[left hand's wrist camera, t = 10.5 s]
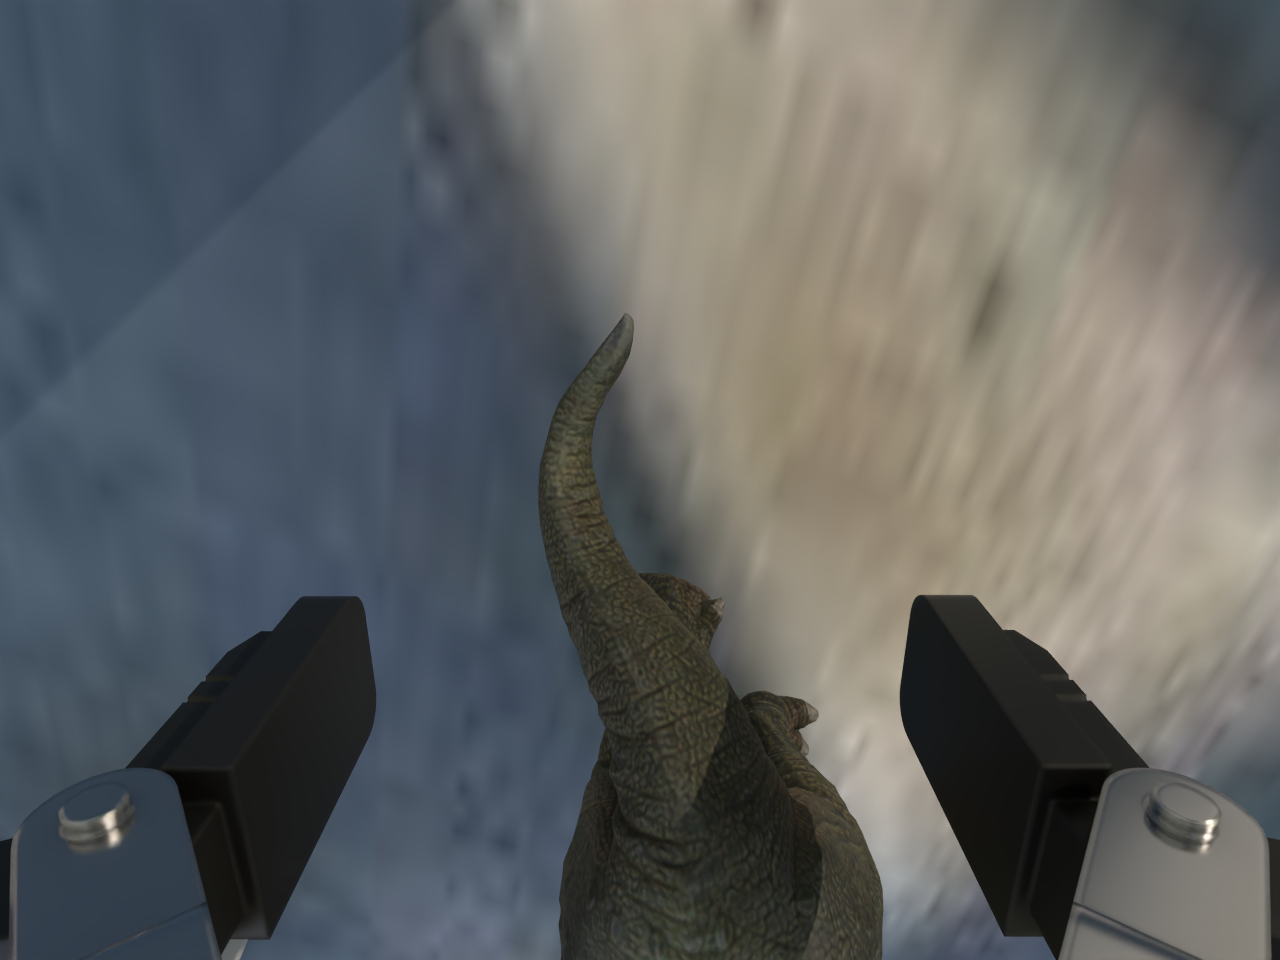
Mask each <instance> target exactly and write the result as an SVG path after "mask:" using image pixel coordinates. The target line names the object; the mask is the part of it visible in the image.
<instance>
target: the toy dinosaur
mask: <svg viewBox="0 0 1280 960" xmlns="http://www.w3.org/2000/svg"><path fill="white" fill-rule="evenodd" d="M633 330H634V325H633V319H632V318H631V316H630V315H629V314H627V313H625V314H624V316H623V317H622V319H621V320H620V322H619V323H618V324H617V326H616V327H615V328H614V330H613V331H612V332H611V333H610V335H609V336H608V337H607V338H606V340H605V341H604V342H603V343H602V345H601V346H600V347H599V349H598V350H597V351H596V353H595V354H594V355H593V357H592V358H591V359H590V361H589V362H588V364H587V365H586V367H585V368H584V369H583V370H582V371H581V373H580V374H579V375H578V376H577V377H576V379H575V380H574V381H573V383H572V384H571V386H570V387H569V388H568V390H567V391H566V392H565V394H564V395H563V397H562V398H561V400H560V402H559V404H558V406H557V409H556V411H555V413H554V416H553V418H552V422H551V425H550V429H549V433H548V437H547V440H546V444H545V448H544V452H543V456H542V460H541V463H540V475H539V515H540V525H541V531H542V537H543V542H544V547H545V552H546V557H547V561H548V564H549V567H550V570H551V575H552V581H553V584H554V586H555V589H556V593H557V596H558V600H559V603H560V608H561V612H562V617H563V619H564V621H565V623H566V625H567V627H568V631H569V635H570V637H571V639H572V641H573V642H574V644H575V646H576V648H577V650H578V653H579V657H580V661H581V666H582V669H583V672H584V674H585V676H586V679H587V681H588V684H589V689H590V692H591V694H592V695H593V697H594V698H595V700H596V701H597V703H598V712H599V716H600V718H601V720H602V722H603V723H604V725H605V727H606V729H605V731H604V735H603V738H602V742H601V745H600V750H599V756H598V761H597V763H596V764H595V766H594V768H593V770H592V775H591V779H590V781H589V783H588V784H587V786H586V789H585V792H584V796H583V803H582V808H581V812H580V815H579V819H578V823H577V826H576V830H575V833H574V836H573V839H572V842H571V844H570V847H569V849H568V852H567V854H566V857H565V859H564V862H563V875H562V882H561V889H560V896H559V901H560V907H561V915H560V920H559V932H560V940H561V954H562V957H561V960H882V921H883V893H882V885H881V881H880V876H879V874H878V871H877V868H876V865H875V863H874V860H873V858H872V856H871V853H870V851H869V849H868V846H867V844H866V841H865V839H864V836H863V833H862V831H861V829H860V827H859V825H858V823H857V821H856V820H855V818H854V817H853V816H852V815H851V814H850V813H849V811H848V809H847V807H846V804H845V802H844V801H843V800H842V798H841V797H840V795H839V793H838V792H837V790H836V788H835V786H834V785H833V784H832V783H830V782H829V781H828V780H827V779H826V778H825V777H824V776H823V775H822V774H821V773H820V772H819V771H818V770H817V769H816V768H815V767H814V766H813V765H811V764H810V763H809V761H808V760H807V758H806V757H805V756H806V755H807V754H808V751H809V748H808V744H807V743H806V742H805V740H804V739H803V737H802V735H801V733H800V732H799V729H801V728H804V727H805V726H807V725H808V724H810V723H812V722H815V721H816V720H817V718H818V716H819V715H818V711H817V710H816V709H815V708H814V707H813V706H811V705H810V704H808V703H807V702H805V701H804V700H802V699H797V698H793V697H788V696H777V695H774V694H772V693H770V692H766V691H757V692H753V693H749V694H747V695H746V696H745V697H743V698H742V699H741V700H739V698H738V697H737V695H736V693H735V692H734V690H733V689H732V687H731V685H730V683H729V681H728V679H727V678H726V677H725V676H724V675H723V674H722V673H721V671H720V670H719V669H718V667H717V666H716V664H715V662H714V661H713V659H712V657H711V656H710V654H709V648H710V644H711V640H712V637H713V634H714V633H715V631H716V630H717V627H718V625H719V623H720V622H721V620H722V616H723V607H724V605H725V602H724V599H722V598H718V599H715V600H711V599H710V597H709V596H708V595H707V594H706V593H705V592H704V591H702V590H701V589H699V588H698V587H696V586H694V585H692V584H690V583H689V582H687V581H685V580H682V579H679V578H677V577H674V576H671V575H668V574H658V573H641V574H638V573H637V572H636V570H635V569H634V568H633V567H632V565H631V564H630V563H629V561H628V560H627V558H626V556H625V554H624V552H623V549H622V547H621V545H620V544H619V542H618V541H617V539H616V538H615V537H614V533H613V530H612V527H611V525H610V523H609V522H608V520H607V517H606V515H605V513H604V511H603V505H602V499H601V496H600V493H599V490H598V486H597V482H596V478H595V474H594V470H593V466H592V453H591V442H592V436H593V430H594V425H595V420H596V416H597V414H598V412H599V410H600V408H601V406H602V404H603V401H604V399H605V397H606V394H607V392H608V391H609V389H610V388H611V387H612V385H613V384H614V382H615V381H616V379H617V378H618V377H619V375H620V373H621V371H622V369H623V367H624V365H625V363H626V361H627V359H628V357H629V355H630V351H631V346H632V342H633Z"/></svg>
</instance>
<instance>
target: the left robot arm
mask: <svg viewBox="0 0 1280 960" xmlns="http://www.w3.org/2000/svg"><path fill="white" fill-rule="evenodd" d="M1068 676H1069V675H1068V674H1067V673H1066V672H1065V670H1064V669H1063V668H1062V667H1061V666H1060V665H1059V664H1058V662H1057V661H1056V660H1055V659H1054V658H1053V657H1052V655H1051V654H1050V653H1049V652H1048V651H1047V650H1045V649H1044V648H1042V647H1041V646H1039V645H1037V644H1036V643H1034V642H1033V641H1031V640H1029V639H1028V638H1026V637H1025V636H1023V635H1021V634H1020V633H1018V632H1017V631H1015V630H1002V628H1001V627H1000V626H999V625H998V623H997V622H996V621H995V620H994V619H993V617H992V616H991V615H990V614H989V612H988V611H987V610H986V609H985V607H984V606H983V605H982V604H981V603H980V601H979V600H978V599H977V598H976V597H975V596H973V595H919V596H917V597H916V598H915V600H914V602H913V604H912V608H911V613H910V620H909V627H908V635H907V642H906V649H905V657H904V664H903V671H902V678H901V686H900V709H901V716H902V721H903V725H904V729H905V732H906V734H907V736H908V739H909V741H910V743H911V745H912V747H913V749H914V751H915V753H916V755H917V757H918V759H919V761H920V763H921V765H922V767H923V770H924V772H925V774H926V776H927V778H928V780H929V782H930V784H931V786H932V788H933V790H934V792H935V794H936V796H937V798H938V801H939V803H940V805H941V807H942V809H943V811H944V813H945V815H946V817H947V819H948V821H949V823H950V825H951V827H952V829H953V831H954V834H955V836H956V838H957V840H958V842H959V844H960V846H961V848H962V850H963V852H964V854H965V856H966V858H967V860H968V862H969V865H970V867H971V869H972V871H973V873H974V875H975V877H976V879H977V881H978V883H979V885H980V887H981V889H982V891H983V893H984V896H985V898H986V900H987V902H988V904H989V906H990V908H991V910H992V912H993V914H994V916H995V918H996V920H997V922H998V924H999V927H1000V929H1001V931H1002V933H1003V935H1004V936H1043V937H1044V938H1045V940H1046V942H1047V944H1048V946H1049V948H1050V950H1051V952H1052V953H1053V955H1054V957H1055V959H1056V960H1280V840H1277V839H1272V838H1268V837H1266V836H1265V833H1264V831H1263V830H1262V828H1261V827H1260V826H1259V824H1258V823H1257V821H1256V820H1255V819H1254V818H1253V817H1252V816H1251V815H1250V814H1249V813H1248V812H1247V811H1246V810H1245V809H1243V808H1242V807H1241V806H1240V805H1239V804H1237V803H1236V802H1234V801H1233V800H1232V799H1230V798H1229V797H1227V796H1226V795H1224V794H1222V793H1221V792H1219V791H1217V790H1216V789H1214V788H1212V787H1210V786H1208V785H1206V784H1204V783H1202V782H1199V781H1197V780H1194V779H1192V778H1189V777H1187V776H1183V775H1180V774H1177V773H1174V772H1169V771H1165V770H1160V769H1152V768H1149V767H1148V766H1147V764H1146V763H1145V762H1144V761H1143V760H1142V759H1141V758H1140V756H1139V755H1138V754H1137V753H1136V752H1135V751H1134V749H1133V748H1132V747H1131V746H1130V745H1129V744H1128V743H1127V741H1126V740H1125V739H1124V738H1123V737H1122V736H1121V735H1120V733H1119V732H1118V731H1117V730H1116V729H1115V728H1114V727H1113V725H1112V724H1111V723H1110V722H1109V721H1108V720H1107V719H1106V717H1105V716H1104V715H1103V714H1102V713H1101V712H1100V711H1099V709H1098V708H1097V707H1096V706H1095V705H1094V704H1093V702H1092V701H1087V699H1086V694H1085V693H1084V692H1083V691H1082V690H1081V689H1080V688H1079V686H1078V685H1077V684H1076V683H1075V682H1074V681H1073V680H1069V677H1068ZM375 710H376V688H375V681H374V673H373V666H372V659H371V652H370V645H369V638H368V630H367V623H366V616H365V610H364V607H363V604H362V601H361V600H360V599H359V598H358V597H356V596H304V597H301V598H300V599H299V600H298V601H297V602H296V603H295V604H294V605H293V607H292V608H291V609H290V610H289V611H288V613H287V614H286V615H285V616H284V618H283V619H282V620H281V621H280V622H279V624H278V625H277V626H276V627H275V628H274V630H273V631H261V632H259V633H258V634H256V635H254V636H253V637H251V638H250V639H248V640H246V641H245V642H243V643H242V644H240V645H238V646H237V647H235V648H234V649H232V650H230V651H229V652H227V653H226V655H225V656H224V657H223V658H222V659H221V660H220V661H219V662H218V664H217V665H216V666H215V667H214V668H213V669H212V670H211V672H210V673H209V674H208V675H207V676H206V681H205V682H201V683H200V684H199V685H198V686H197V687H196V689H195V690H194V691H193V692H192V693H191V694H190V695H189V697H188V702H187V703H182V704H181V706H180V707H179V708H178V709H177V710H176V711H175V712H174V714H173V715H172V716H171V717H170V718H169V719H168V720H167V722H166V723H165V724H164V725H163V726H162V727H161V728H160V729H159V731H158V732H157V733H156V734H155V735H154V736H153V737H152V739H151V740H150V741H149V742H148V743H147V744H146V745H145V747H144V748H143V749H142V750H141V751H140V752H139V753H138V754H137V756H136V757H135V758H134V759H133V760H132V761H131V762H130V764H129V765H128V766H127V767H126V768H125V769H120V770H115V771H111V772H106V773H103V774H100V775H97V776H93V777H91V778H88V779H86V780H83V781H81V782H78V783H76V784H74V785H72V786H70V787H68V788H66V789H64V790H63V791H61V792H59V793H58V794H56V795H54V796H53V797H51V798H50V799H48V800H47V801H45V802H44V803H43V804H41V805H40V806H39V807H38V808H37V809H35V810H34V811H33V812H32V813H31V814H30V815H29V816H28V817H27V818H26V819H25V820H24V821H23V823H22V824H21V826H20V827H19V828H18V830H17V831H16V833H15V836H14V838H12V839H8V840H4V841H0V960H222V958H221V955H222V953H223V952H224V950H225V948H226V946H227V944H228V942H229V940H230V939H270V938H271V936H272V933H273V931H274V929H275V927H276V925H277V923H278V921H279V919H280V917H281V915H282V913H283V911H284V909H285V907H286V905H287V903H288V901H289V899H290V897H291V895H292V893H293V891H294V889H295V887H296V885H297V882H298V880H299V878H300V876H301V874H302V872H303V870H304V868H305V866H306V864H307V862H308V860H309V858H310V856H311V854H312V852H313V850H314V848H315V846H316V844H317V842H318V840H319V838H320V836H321V834H322V831H323V829H324V827H325V825H326V823H327V821H328V819H329V817H330V815H331V813H332V811H333V809H334V807H335V805H336V803H337V801H338V799H339V797H340V795H341V793H342V791H343V789H344V787H345V785H346V783H347V780H348V778H349V776H350V774H351V772H352V770H353V768H354V766H355V764H356V762H357V760H358V758H359V756H360V754H361V752H362V750H363V748H364V746H365V744H366V742H367V740H368V738H369V735H370V733H371V730H372V726H373V723H374V717H375Z"/></svg>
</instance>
